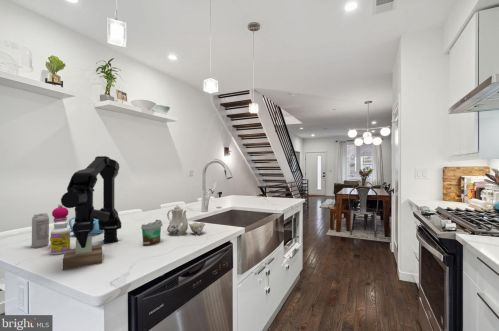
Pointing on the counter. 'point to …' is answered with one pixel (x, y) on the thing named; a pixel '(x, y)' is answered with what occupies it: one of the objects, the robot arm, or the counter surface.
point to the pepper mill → (60, 214)
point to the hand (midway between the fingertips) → (84, 244)
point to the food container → (151, 233)
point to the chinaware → (181, 223)
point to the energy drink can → (40, 230)
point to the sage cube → (87, 248)
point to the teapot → (95, 227)
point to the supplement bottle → (60, 238)
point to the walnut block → (82, 258)
